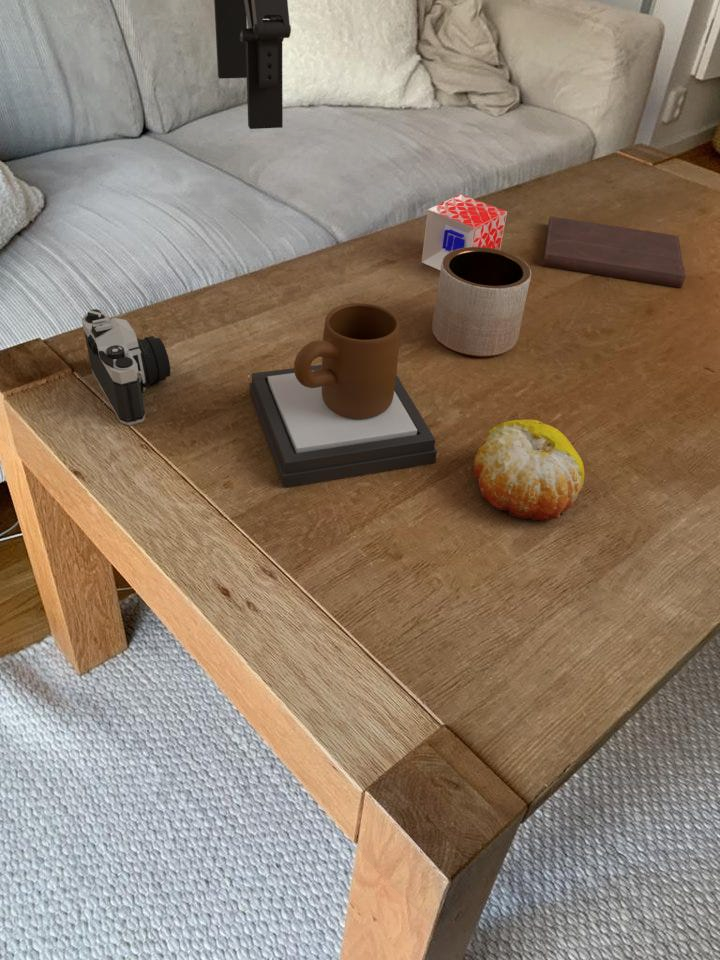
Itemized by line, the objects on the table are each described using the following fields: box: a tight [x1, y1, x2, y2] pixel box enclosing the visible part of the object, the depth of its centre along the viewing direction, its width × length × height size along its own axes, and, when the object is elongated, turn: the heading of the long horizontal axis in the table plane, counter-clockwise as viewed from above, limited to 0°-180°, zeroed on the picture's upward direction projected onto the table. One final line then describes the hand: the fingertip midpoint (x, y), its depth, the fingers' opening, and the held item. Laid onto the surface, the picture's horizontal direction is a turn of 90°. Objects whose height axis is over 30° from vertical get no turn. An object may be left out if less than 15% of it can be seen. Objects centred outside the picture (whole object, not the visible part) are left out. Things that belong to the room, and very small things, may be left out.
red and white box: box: [421, 193, 508, 271], centre depth 116 cm, size 8×8×8 cm
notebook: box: [542, 215, 686, 289], centre depth 122 cm, size 15×20×2 cm
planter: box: [431, 247, 532, 358], centre depth 100 cm, size 11×11×10 cm
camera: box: [81, 308, 172, 426], centre depth 88 cm, size 13×8×9 cm, turn 32°
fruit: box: [473, 419, 585, 522], centre depth 80 cm, size 11×10×8 cm
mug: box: [293, 302, 401, 419], centre depth 82 cm, size 12×8×9 cm, turn 131°
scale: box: [248, 364, 438, 489], centre depth 87 cm, size 16×16×3 cm
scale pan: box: [268, 370, 417, 454], centre depth 86 cm, size 13×13×2 cm
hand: (248, 100), depth 72 cm, fingers open, 13 cm apart
